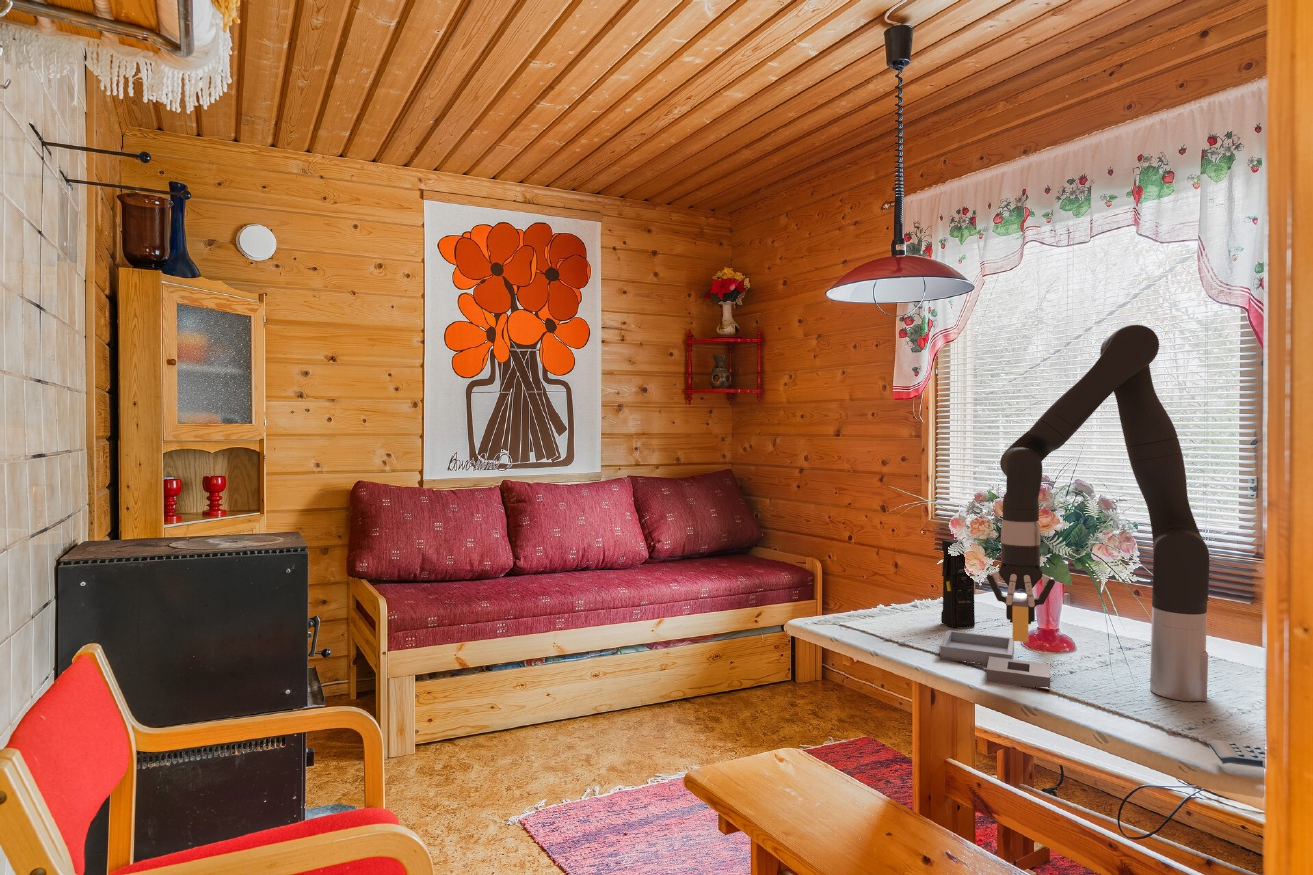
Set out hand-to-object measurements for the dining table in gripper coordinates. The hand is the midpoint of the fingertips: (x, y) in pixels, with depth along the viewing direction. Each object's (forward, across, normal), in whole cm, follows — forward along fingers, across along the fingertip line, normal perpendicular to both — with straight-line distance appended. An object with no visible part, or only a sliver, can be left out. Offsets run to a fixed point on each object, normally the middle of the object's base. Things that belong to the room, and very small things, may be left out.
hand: (1020, 622), depth 169 cm
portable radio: (+12, +16, -39) cm, 44 cm away
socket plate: (+12, 0, 0) cm, 12 cm away
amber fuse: (+3, 0, -1) cm, 3 cm away
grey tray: (+12, +9, -14) cm, 21 cm away
